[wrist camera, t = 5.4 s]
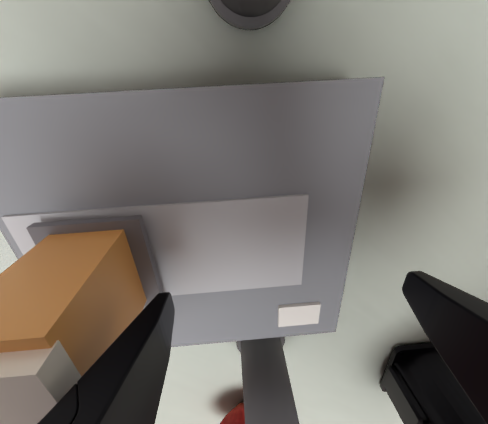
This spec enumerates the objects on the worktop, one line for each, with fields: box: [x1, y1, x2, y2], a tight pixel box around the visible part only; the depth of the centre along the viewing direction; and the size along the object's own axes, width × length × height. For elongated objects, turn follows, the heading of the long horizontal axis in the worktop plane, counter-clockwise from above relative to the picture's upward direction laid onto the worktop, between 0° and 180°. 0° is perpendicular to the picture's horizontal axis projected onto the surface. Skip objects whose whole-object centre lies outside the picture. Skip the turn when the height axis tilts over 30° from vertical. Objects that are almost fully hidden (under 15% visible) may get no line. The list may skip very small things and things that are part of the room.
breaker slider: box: [0, 215, 163, 424], centre depth 8 cm, size 4×5×6 cm
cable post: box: [237, 337, 299, 424], centre depth 16 cm, size 4×4×8 cm
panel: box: [0, 77, 384, 347], centre depth 13 cm, size 16×14×3 cm
